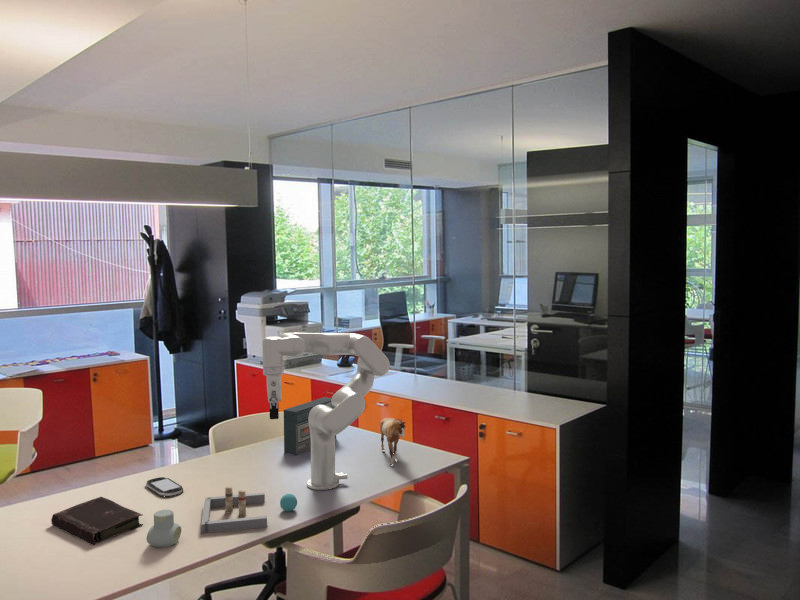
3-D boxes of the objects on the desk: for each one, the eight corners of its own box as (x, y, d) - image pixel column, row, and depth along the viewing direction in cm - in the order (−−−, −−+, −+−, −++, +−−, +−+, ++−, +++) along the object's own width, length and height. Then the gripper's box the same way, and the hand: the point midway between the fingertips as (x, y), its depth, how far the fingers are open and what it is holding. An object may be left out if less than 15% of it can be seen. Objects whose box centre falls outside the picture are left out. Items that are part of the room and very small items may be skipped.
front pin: (246, 513, 227) (245, 489, 226) (246, 516, 224) (245, 492, 223) (238, 514, 226) (238, 490, 225) (238, 516, 224) (238, 492, 223)
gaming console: (143, 486, 253) (142, 480, 253) (165, 480, 259) (165, 474, 259) (163, 500, 239) (163, 494, 239) (186, 494, 245) (186, 487, 245)
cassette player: (295, 455, 289) (295, 412, 287) (284, 453, 292) (283, 409, 291) (336, 439, 313) (336, 398, 311) (325, 437, 317) (324, 397, 315)
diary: (92, 548, 202) (91, 533, 202) (51, 528, 216) (50, 514, 216) (145, 526, 217) (144, 512, 217) (104, 508, 232) (103, 495, 231)
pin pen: (264, 500, 238) (264, 492, 238) (267, 526, 216) (267, 518, 216) (205, 505, 233) (205, 497, 233) (201, 533, 211) (201, 524, 211)
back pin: (232, 509, 230) (232, 486, 229) (232, 512, 228) (232, 488, 227) (225, 510, 229) (225, 486, 229) (225, 513, 227) (225, 489, 226)
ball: (296, 506, 233) (296, 490, 232) (298, 513, 227) (297, 496, 226) (279, 508, 231) (279, 491, 231) (280, 514, 225) (280, 498, 225)
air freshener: (158, 535, 209) (157, 505, 209) (183, 535, 209) (182, 506, 208) (144, 551, 199) (143, 520, 198) (170, 552, 198) (169, 520, 197)
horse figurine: (406, 469, 271) (406, 421, 270) (388, 470, 270) (388, 422, 268) (393, 446, 302) (393, 403, 300) (377, 447, 300) (377, 404, 299)
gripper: (283, 374, 231) (284, 421, 233) (283, 365, 248) (284, 409, 250) (262, 375, 230) (263, 422, 231) (263, 366, 247) (264, 410, 248)
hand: (274, 415), depth 241 cm, fingers open, 9 cm apart
